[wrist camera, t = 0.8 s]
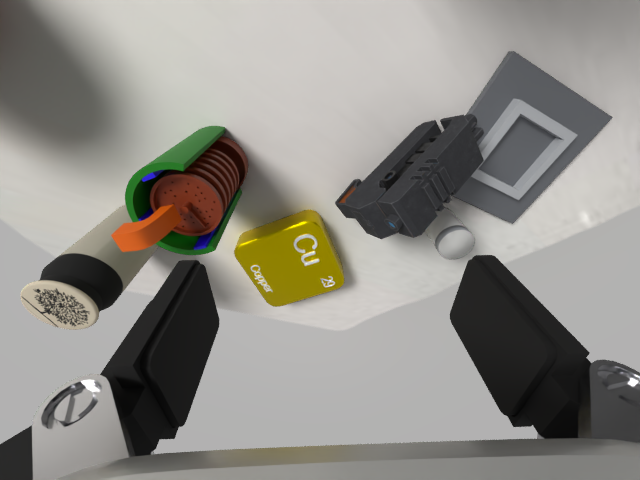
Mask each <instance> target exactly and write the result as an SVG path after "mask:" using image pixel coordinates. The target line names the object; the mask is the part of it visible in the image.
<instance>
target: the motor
mask: <svg viewBox="0 0 640 480" xmlns="http://www.w3.org/2000/svg"><path fill="white" fill-rule="evenodd" d="M224 133H225V127H220V126H209V127H205V128H202V129H200V130H198V131H196V132H195V133H193V134H192V135H190V136H189V137H187V138H186V139H185V140H183V141H182V142H180V143H179V144H177V145H176V146H174V147H173V148H171V149H170V150H168V151H167V152H165V153H164V154H162V155H161V156H159V157H158V158H156V159H155V160H154V161H152V162H151V163H149V164H148V165H146V166H145V167H143V168H142V169H140V170H139V171H138V172H136V173H135V174H134V175H133V177H132V178H131V179H130V181H129V183H128V185H127V188H126V193H125V202H126V208H127V211H128V214H129V216H130V218H131V220H132V223H124V224H123V225H121V226H120V227H119V228H118V229H117V230H116V231H115V232H114V233H113V234H112V235H111V236H112V238H113V239H114V241H115V242H116V244H117V245H118V246H119V248H120V249H121V251H122V252H128V251H138V250H142V249H146V248H148V247H150V246H152V245H154V244H156V245H158V246H160V247H162V248H164V249H166V250H169V251H172V252H175V253H179V254H185V255H201V254H206V253H209V252H212V251H214V250H215V249H216V247H217V245H218V243H219V241H220V239H221V237H222V234H223V232H224V230H225V228H226V226H227V224H228V221H229V219H230V217H231V215H232V213H233V211H234V209H235V206H236V204H237V202H238V200H239V198H240V196H241V194H242V191H241V189H240V188H239V187H240V186H241V185H242V183H243V181H244V179H245V177H246V175H247V172H248V160H247V157H246V155H245V153H244V151H243V150H242V148H241V147H240V146H239V145H238V144H237V143H236V142H234V141H233V140H231V139H229V138H226V137H223V136H222V135H223V134H224ZM238 188H239V189H238Z"/></svg>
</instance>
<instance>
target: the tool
mask: <svg viewBox="0 0 640 480" xmlns="http://www.w3.org/2000/svg"><path fill="white" fill-rule="evenodd" d="M440 122H441V124H442V126H443V128H444V131H443V132H442V133H441V131H440V129H439V127H438V125H437V122H436V120H434V121H430V122H425V123H423V124H421V125H419V126H418V127H416V128H415V129H414V130H413V131H412V132H411V133H410V134H409V135H408V136H407V137H406V138H405V139H404V140H403V141H402V142H401V143H400V144H399V145H398V147H397V148H396V149H395V150H394V151H393V152H392V153H391V154H390V155H389V156H388V157H387V158H386V159H385V160H384V161H383V162H382V163H381V164H380V165H379V166H378V167H377V168H376V169H375V170H374V171H373V172H372V173H371V174H370V175H369V176H368V177H367V178H366V179H365V180H364V181H363V182H361V181H360V179H356V180H354V181H353V182H352V183H351V184H350V185H349V186H348V188H347V189H346V190H345V191H344V192H343V194H342V195H341V196H340V197H339V198H338V200H337V201H336V202H335V204H336V205H337V207H338V208H339V209H340V211H341V212H342V213H343V214H344V216H345V217H346V218H356V220H357V221H358V222H359V224H360V225H361V226H362V228H363V229H364V230H365V231H366V233H368V234H370V235H373V236H375V237H377V238H380V239H383V238H386V237H388V236H391V235H393V234H396V233H398V232H399V233H400V234H403V235H406V236H410V237H413V238H414V237H417V236H419V235H421V234H422V233H423V232H424V231H425V230H426V229H427V227H428V226H429V225H430V224H431V223H432V222H433V221H434V219H435V218H436V217H437V216H438V215H437V214H436V211H440V212H441V211H442V210H443V209H444V206H443V202H445V203H449V202H450V201H451V198H450V196H449V195H456V193H457V192H458V191H459V190H460V189H461V187H462V186H463V185H464V184H465V183H466V182H467V180H468V179H469V178H470V177H471V176H472V174H473V173H474V172H475V171H476V170H477V168H478V167H479V166H480V165H481V164H482V162H483V161H484V159H483V157H482V154H481V152H480V149H479V147H478V144H477V141H478V140H479V139H480V138H481V137H482V136H483V135H484V130H483V128H481V127H476V128H474V127H475V126H476V125H477V118H476V116H475V115H473V114H468V115H465V116H464V115H460V116H455V117H449V118H444V119H441V120H440ZM473 128H474V129H473Z"/></svg>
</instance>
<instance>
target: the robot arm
mask: <svg viewBox="0 0 640 480" xmlns="http://www.w3.org/2000/svg"><path fill="white" fill-rule="evenodd" d="M450 320H451V323H452V325H453V326H454V328H455V330H456V332H457V333H458V335H459V337H460V339H461V341H462V342H463V344H464V346H465V348H466V350H467V352H468V354H469V355H470V357H471V359H472V361H473V362H474V364H475V366H476V368H477V370H478V372H479V373H480V375H481V377H482V379H483V381H484V382H485V384H486V386H487V388H488V390H489V391H490V393H491V395H492V397H493V399H494V400H495V402H496V404H497V406H498V407H499V409H500V411H501V412H502V413H503V414H504V415H506V416H508V418H509V419H510V421H511V423H512V425H513V427H522V426H523V427H524V426H532V425H533V426H534V427H535V429H536V430H537V432H538V437H537V439H508V440H479V441H478V440H476V441H443V442H413V443H387V444H386V443H385V444H357V445H333V446H332V445H330V446H307V447H306V446H304V447H280V448H258V449H257V448H256V449H232V450H213V451H198V452H197V451H196V452H180V453H164V454H154V452H153V450H155V449H156V447H157V444H158V442H159V439H174V438H175V435H176V433H177V430H178V427H179V426H180V427H181V426H183V425H184V424H185V422H186V420H187V417H188V414H189V411H190V408H191V405H192V402H193V399H194V397H195V394H196V391H197V388H198V385H199V382H200V379H201V377H202V374H203V371H204V368H205V365H206V362H207V359H208V357H209V354H210V351H211V348H212V345H213V342H214V339H215V337H216V334H217V331H218V328H219V317H218V313H217V309H216V305H215V302H214V298H213V294H212V290H211V287H210V283H209V279H208V275H207V272H206V268H205V266H204V265H203V264H200V263H199V261H197V260H185V261H179V262H178V263H177V265H176V266H175V268H174V269H173V270H172V272H171V273H170V275H169V276H168V278H167V279H166V281H165V282H164V284H163V285H162V287H161V288H160V290H159V291H158V293H157V294H156V296H155V297H154V299H153V300H152V301H151V302H150V303H149V304H148V305H147V306H146V308H145V310H144V311H143V312H142V314H141V315H140V317H139V318H138V320H137V321H136V323H135V324H134V326H133V327H132V329H131V330H130V331H129V333H128V334H127V336H126V337H125V339H124V340H123V342H122V343H121V345H120V346H119V348H118V349H117V351H116V352H115V354H114V355H113V356H112V358H111V359H110V361H109V362H108V364H107V365H106V367H105V368H104V370H103V371H102V373H101V374H100V375H99V374H89V375H85V376H80V377H78V378H76V379H73V380H71V381H69V382H67V383H65V384H64V385H62V386H61V387H59V388H58V389H56V390H55V391H54V392H53V393H52V394H50V395H49V396H48V397H47V398H46V399H45V401H44V402H43V403H42V404H41V405H40V406H39V408H38V410H37V411H36V413H35V415H34V418H33V422H32V426H30V427H29V428H27V429H25V430H23V431H22V432H20V433H19V434H17V435H15V436H13V437H12V438H10V439H8V440H7V441H5V442H4V443H2V444H0V480H640V373H639V372H637V371H636V370H634V369H632V368H630V367H628V366H626V365H623V364H620V363H617V362H614V361H609V360H597V361H594V362H593V363H590V361H589V360H588V359H587V358H586V357H587V356H588V355H589V352H588V351H587V350H586V349H585V348H584V347H583V346H582V345H581V344H580V342H579V341H577V339H576V338H575V337H574V336H573V335H572V334H571V333H570V332H569V331H568V330H567V329H566V328H565V327H564V326H563V325H562V324H561V323H560V322H559V321H558V320H557V319H556V318H555V317H554V316H553V315H552V314H551V313H550V312H549V311H548V310H547V309H546V308H545V307H544V306H543V305H542V304H541V303H540V302H539V301H538V300H537V299H536V298H535V297H534V296H533V295H532V294H531V293H530V291H529V290H528V289H527V288H526V287H525V286H524V285H523V284H522V283H521V282H520V281H518V279H517V278H516V277H515V276H514V275H513V274H512V273H511V272H510V271H509V270H508V269H507V268H506V267H505V266H504V265H503V264H502V263H501V262H500V261H499V260H498V259H497V258H496V257H495V256H493V255H476V256H474V257H473V258H472V260H469V261H468V263H467V266H466V269H465V271H464V274H463V277H462V280H461V283H460V286H459V289H458V292H457V295H456V298H455V300H454V303H453V306H452V309H451V312H450Z"/></svg>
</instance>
